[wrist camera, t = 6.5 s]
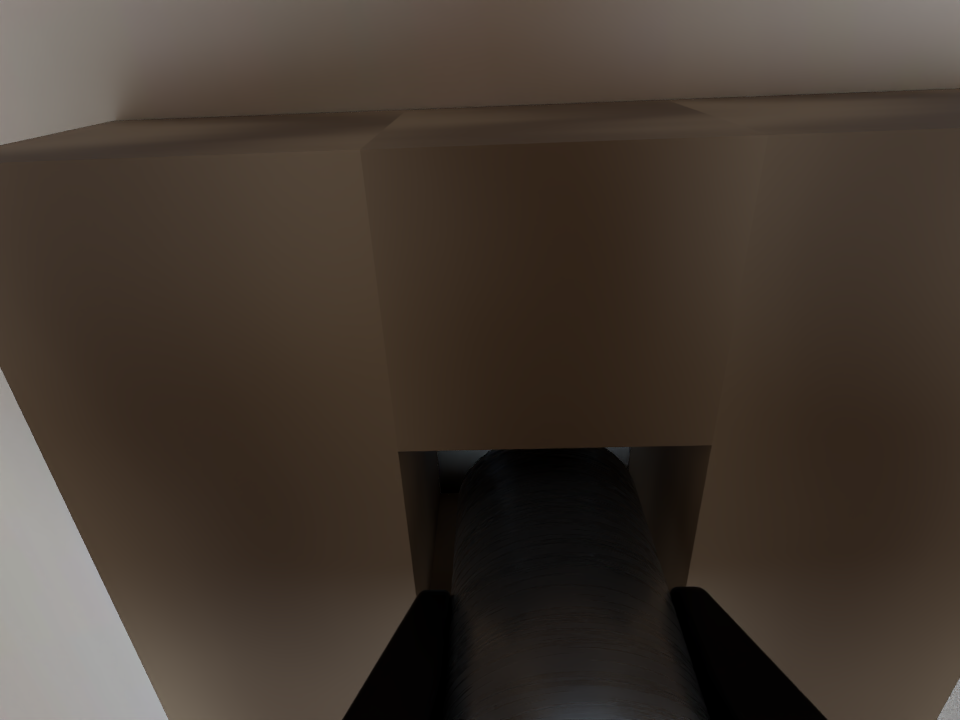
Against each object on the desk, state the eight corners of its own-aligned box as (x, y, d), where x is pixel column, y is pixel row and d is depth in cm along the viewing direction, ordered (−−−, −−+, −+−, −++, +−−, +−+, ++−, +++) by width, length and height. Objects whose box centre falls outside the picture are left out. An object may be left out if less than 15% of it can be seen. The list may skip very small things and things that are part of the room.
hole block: (977, 88, 9) (1267, 117, 6) (808, 606, 15) (905, 777, 12) (113, 120, 10) (-96, 166, 6) (263, 612, 16) (197, 779, 12)
